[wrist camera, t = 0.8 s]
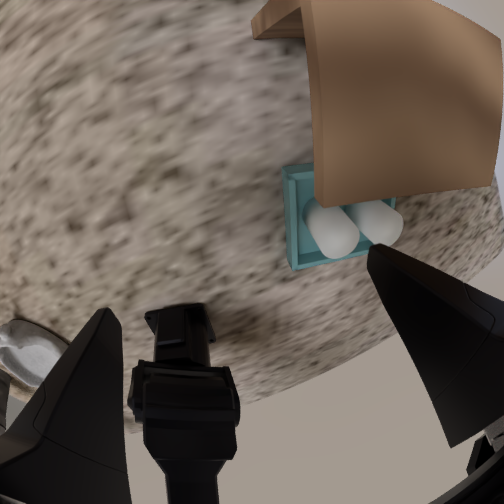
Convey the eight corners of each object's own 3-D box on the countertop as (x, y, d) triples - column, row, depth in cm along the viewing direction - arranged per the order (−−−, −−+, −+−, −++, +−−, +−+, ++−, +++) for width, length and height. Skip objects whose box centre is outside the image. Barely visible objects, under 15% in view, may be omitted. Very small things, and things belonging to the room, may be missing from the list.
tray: (375, 236, 27) (386, 249, 25) (285, 254, 26) (292, 270, 24) (384, 154, 21) (400, 163, 19) (279, 164, 21) (287, 174, 19)
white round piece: (372, 221, 24) (399, 244, 20) (343, 225, 24) (369, 250, 20) (376, 189, 22) (406, 209, 19) (346, 192, 22) (374, 213, 18)
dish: (-2, 301, 22) (-16, 330, 18) (86, 338, 28) (79, 371, 24) (14, 355, 29) (6, 379, 25) (84, 382, 35) (80, 408, 31)
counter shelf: (399, 135, 19) (490, 186, 11) (266, 144, 19) (323, 208, 10) (396, 33, 14) (500, 39, 5) (250, 20, 13) (304, -34, 5)
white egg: (335, 225, 24) (357, 254, 20) (302, 231, 23) (319, 262, 20) (337, 193, 22) (361, 218, 18) (301, 198, 22) (320, 225, 18)
